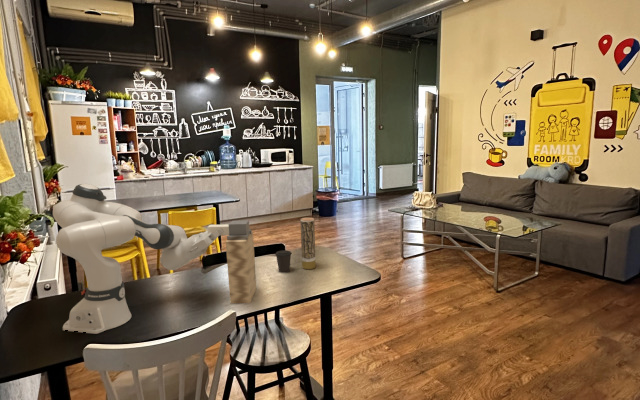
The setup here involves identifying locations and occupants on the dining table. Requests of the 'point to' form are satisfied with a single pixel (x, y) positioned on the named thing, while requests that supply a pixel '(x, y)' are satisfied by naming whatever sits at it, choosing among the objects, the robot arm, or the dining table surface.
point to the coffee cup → (283, 260)
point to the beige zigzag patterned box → (241, 268)
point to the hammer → (231, 228)
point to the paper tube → (308, 243)
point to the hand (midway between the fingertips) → (224, 228)
